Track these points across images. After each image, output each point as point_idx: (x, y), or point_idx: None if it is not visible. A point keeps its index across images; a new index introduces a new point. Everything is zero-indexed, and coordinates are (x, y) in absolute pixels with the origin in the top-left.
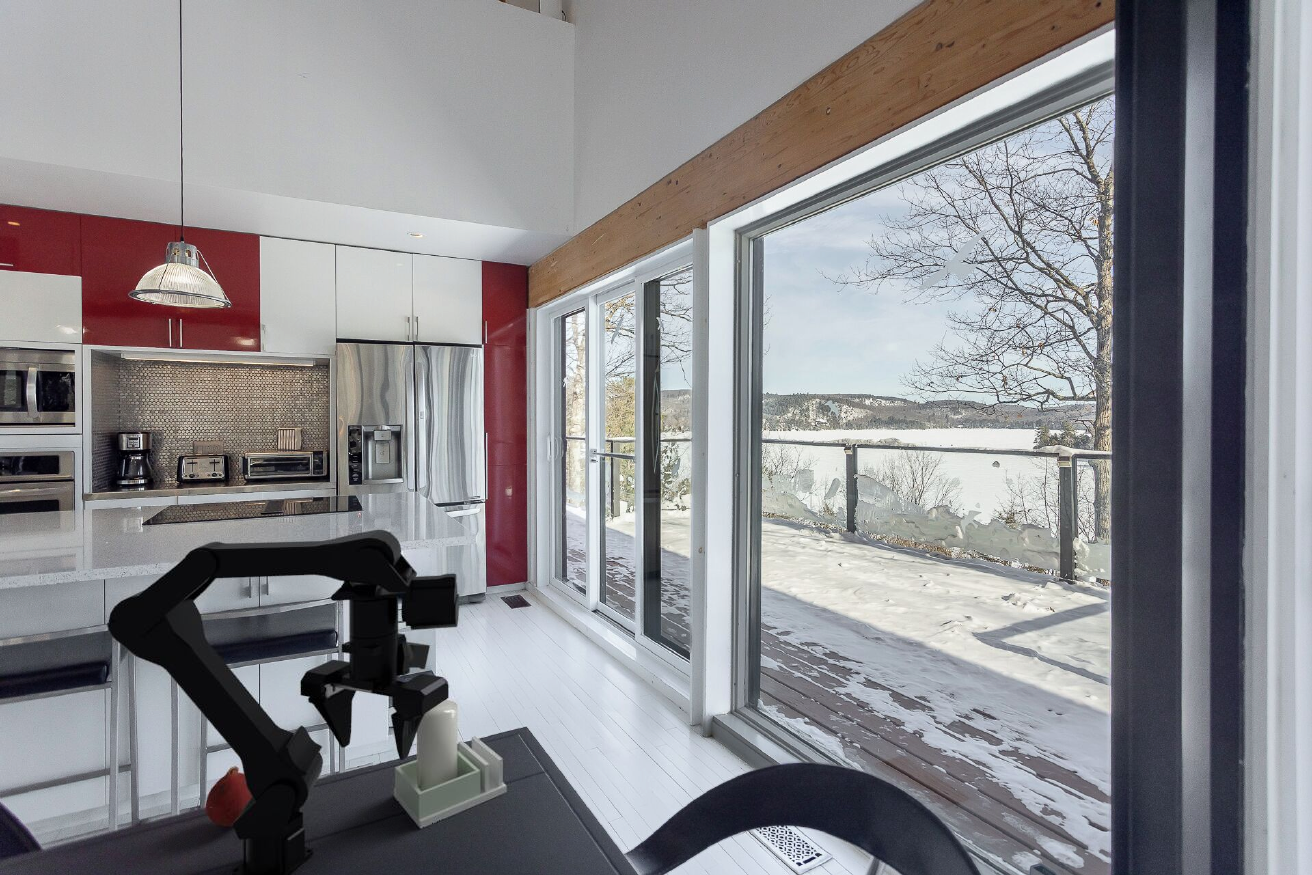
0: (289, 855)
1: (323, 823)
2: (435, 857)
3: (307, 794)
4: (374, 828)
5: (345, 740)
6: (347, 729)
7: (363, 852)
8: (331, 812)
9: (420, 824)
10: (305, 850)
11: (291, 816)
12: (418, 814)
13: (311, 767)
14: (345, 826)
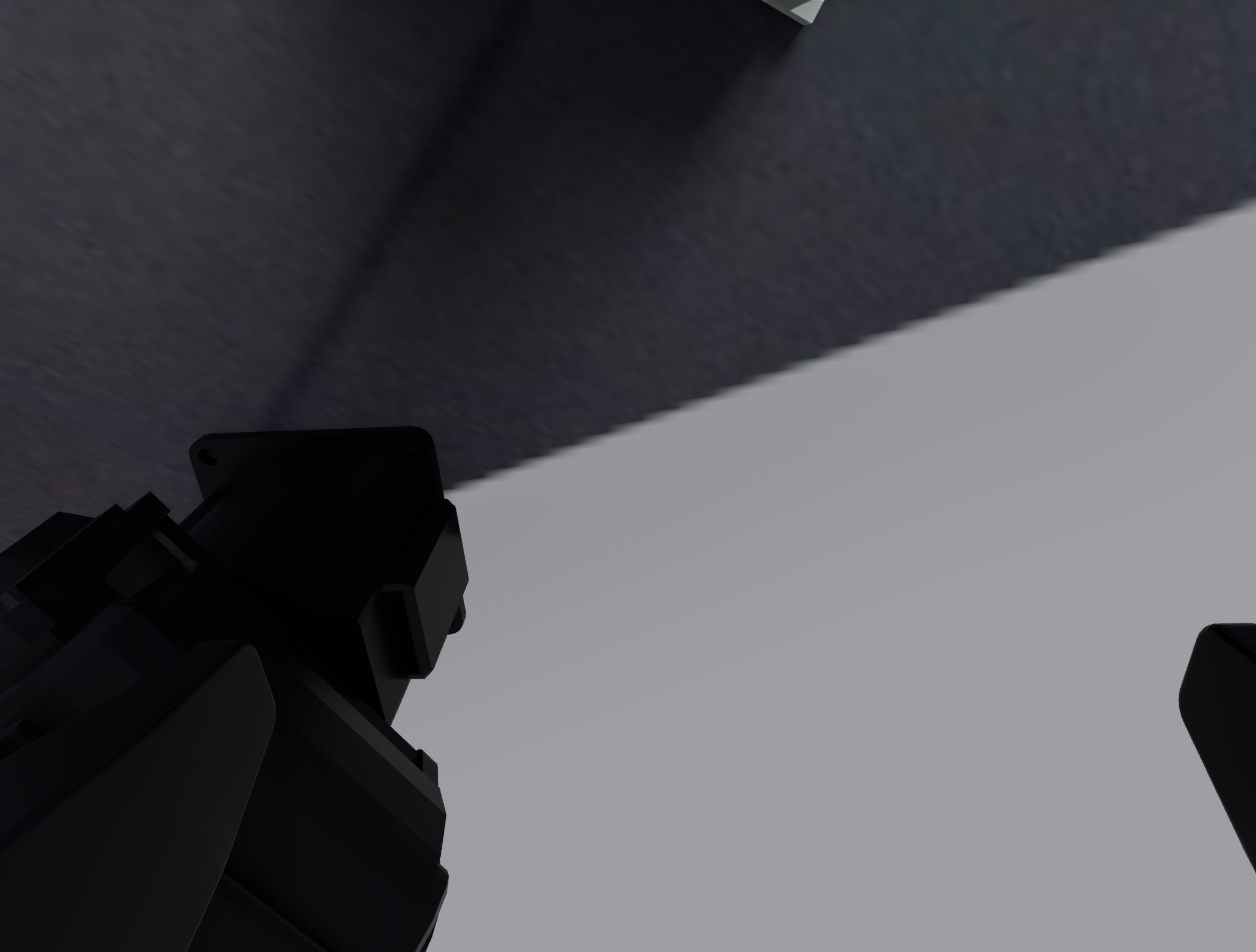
0: (450, 615)
1: (231, 227)
2: (1044, 215)
3: (441, 837)
4: (530, 144)
5: (233, 755)
6: (128, 838)
7: (637, 329)
8: (164, 125)
9: (807, 23)
10: (393, 453)
11: (328, 657)
12: (783, 1)
13: (267, 857)
14: (363, 199)
